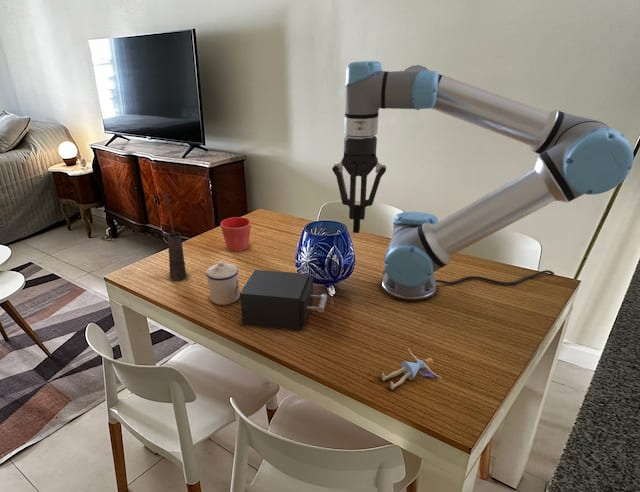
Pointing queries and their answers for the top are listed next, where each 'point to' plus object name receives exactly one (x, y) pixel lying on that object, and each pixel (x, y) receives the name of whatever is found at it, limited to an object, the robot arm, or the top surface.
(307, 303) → the open drawer
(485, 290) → the top surface
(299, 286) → the dark grey box
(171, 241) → the butter churn
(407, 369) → the fairy figurine
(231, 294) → the teacup with lid
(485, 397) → the top surface
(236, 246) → the flower pot
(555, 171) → the robot arm
